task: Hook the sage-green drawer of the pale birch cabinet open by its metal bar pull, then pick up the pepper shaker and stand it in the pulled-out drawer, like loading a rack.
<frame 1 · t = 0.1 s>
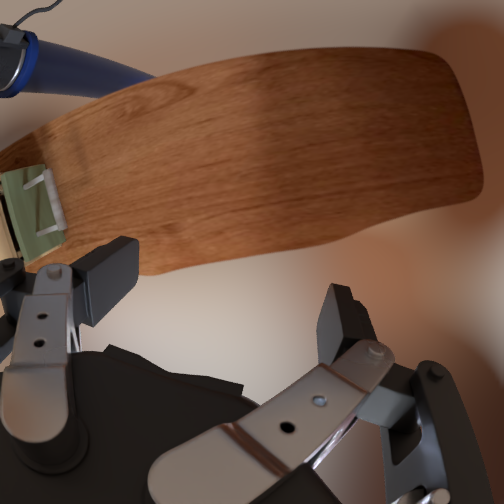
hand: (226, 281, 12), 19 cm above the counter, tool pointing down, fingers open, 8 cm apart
cabinet: (23, 217, 35), on the counter
drawer: (20, 216, 30), point 5 cm above the counter, slide at 1.0 cm
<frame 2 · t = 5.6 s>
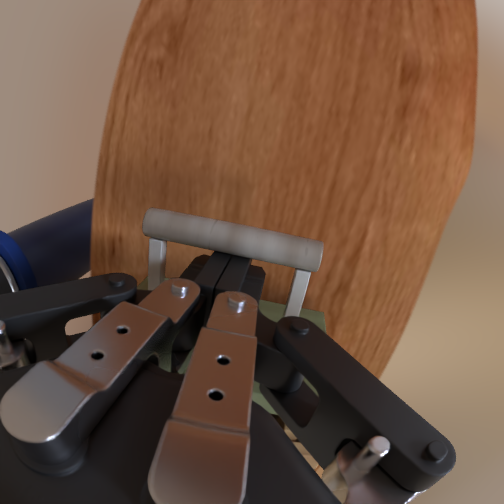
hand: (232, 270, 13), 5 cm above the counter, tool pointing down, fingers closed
drawer: (213, 382, 16), point 5 cm above the counter, slide at 1.7 cm
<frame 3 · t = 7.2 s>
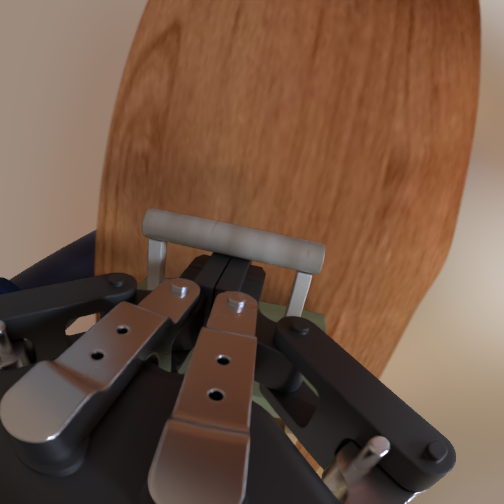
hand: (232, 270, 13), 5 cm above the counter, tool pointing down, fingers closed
drawer: (212, 383, 16), point 5 cm above the counter, slide at 7.6 cm, touching gripper
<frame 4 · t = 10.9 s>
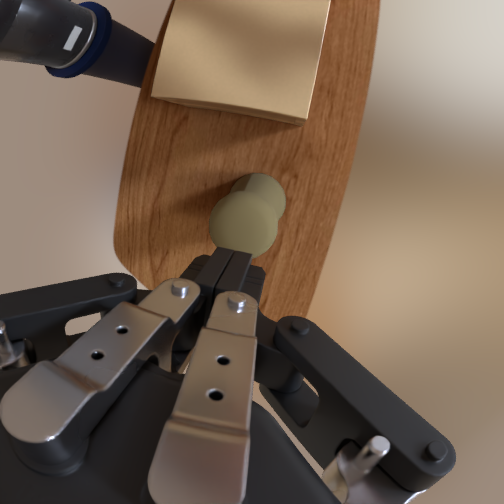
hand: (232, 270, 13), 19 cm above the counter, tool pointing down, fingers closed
cabinet: (257, 50, 25), on the counter
pepper shaker: (257, 201, 31), on the counter
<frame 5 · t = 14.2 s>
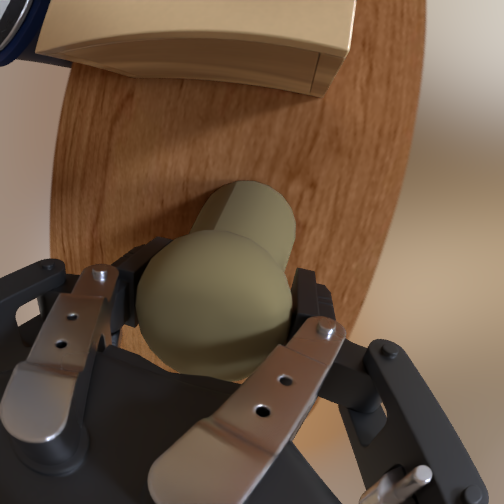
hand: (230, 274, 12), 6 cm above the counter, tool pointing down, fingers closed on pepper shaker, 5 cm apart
pepper shaker: (246, 228, 19), on the counter, touching gripper
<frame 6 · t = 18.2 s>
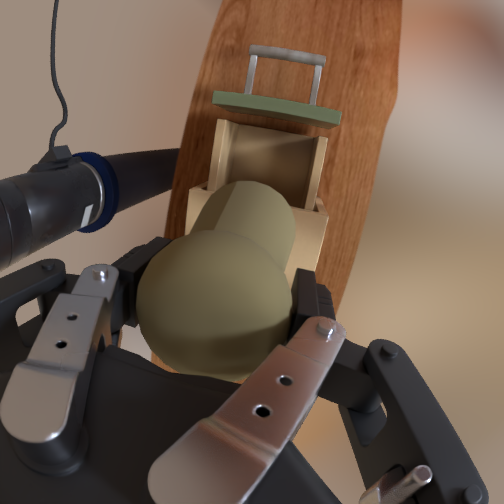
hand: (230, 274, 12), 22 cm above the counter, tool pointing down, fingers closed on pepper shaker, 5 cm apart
cabinet: (256, 246, 36), on the counter
drawer: (272, 143, 27), point 5 cm above the counter, slide at 7.7 cm
pepper shaker: (246, 228, 19), point 16 cm above the counter, touching gripper
when the fingers open (8 cm above the counter, at t = 22.2 s): pepper shaker stays where it is, resting on drawer.
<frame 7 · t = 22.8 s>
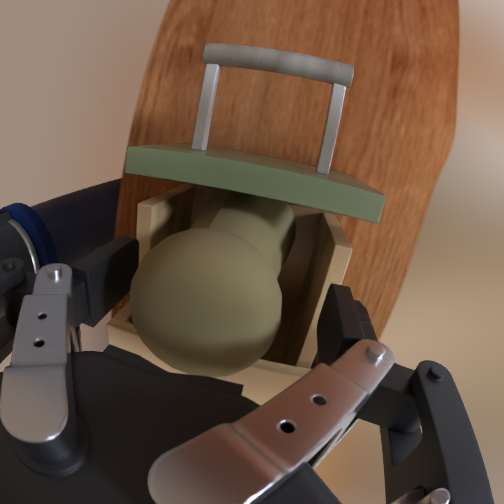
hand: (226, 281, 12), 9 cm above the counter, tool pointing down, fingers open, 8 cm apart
cabinet: (231, 351, 25), on the counter
drawer: (247, 232, 16), point 5 cm above the counter, slide at 7.7 cm, touching pepper shaker
pepper shaker: (247, 227, 19), point 2 cm above the counter, touching drawer
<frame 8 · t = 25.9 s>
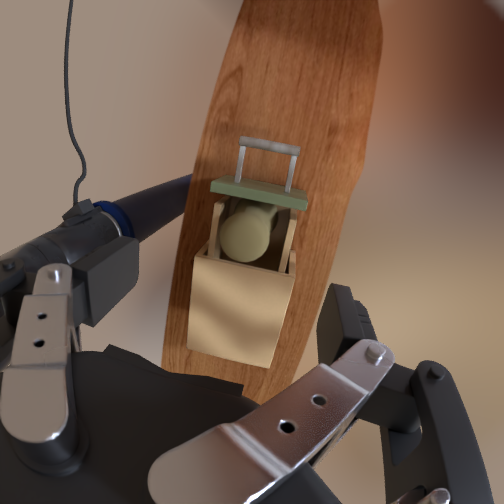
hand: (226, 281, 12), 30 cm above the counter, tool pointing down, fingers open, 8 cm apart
cabinet: (245, 286, 46), on the counter
drawer: (256, 216, 37), point 5 cm above the counter, slide at 7.7 cm, touching pepper shaker
pepper shaker: (256, 215, 40), point 2 cm above the counter, touching drawer
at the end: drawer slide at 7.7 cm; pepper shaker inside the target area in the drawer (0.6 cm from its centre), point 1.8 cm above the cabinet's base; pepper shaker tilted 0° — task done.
